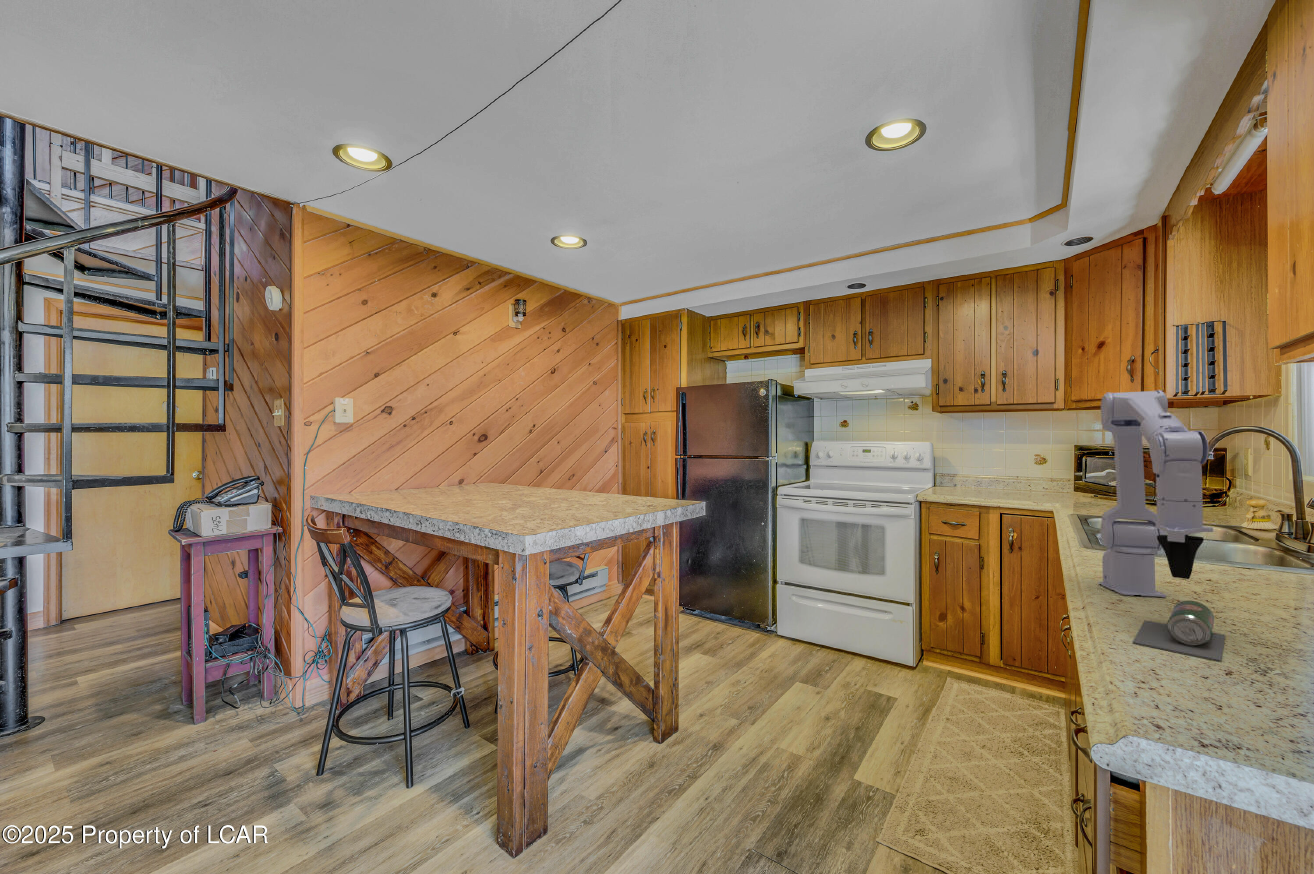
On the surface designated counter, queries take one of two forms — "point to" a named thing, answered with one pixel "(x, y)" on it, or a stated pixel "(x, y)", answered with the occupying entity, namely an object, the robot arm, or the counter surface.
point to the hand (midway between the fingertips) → (1181, 577)
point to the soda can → (1191, 623)
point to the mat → (1162, 639)
